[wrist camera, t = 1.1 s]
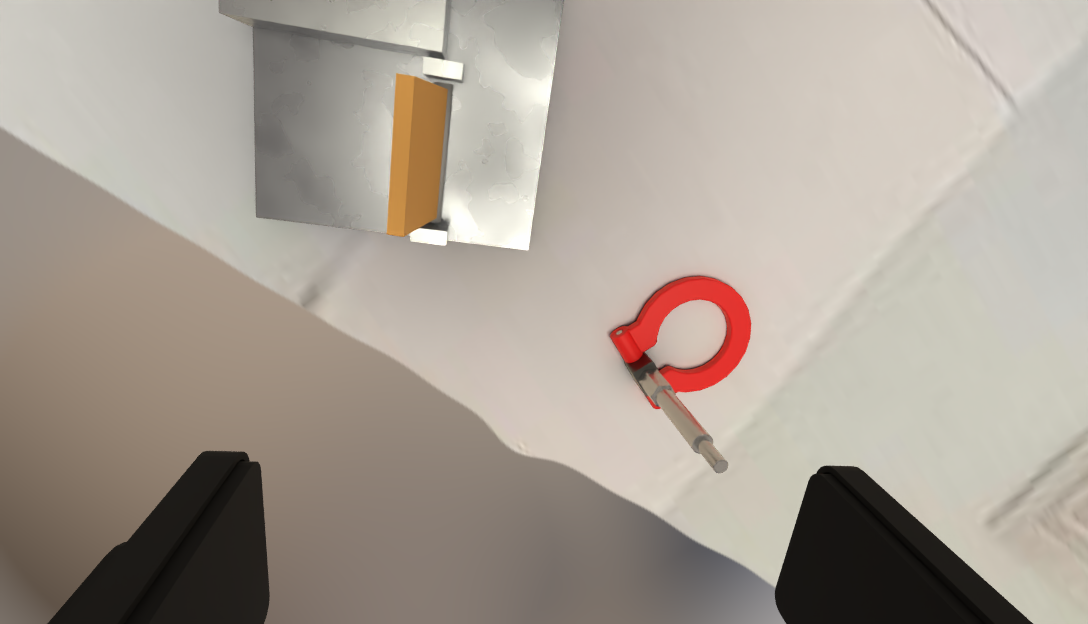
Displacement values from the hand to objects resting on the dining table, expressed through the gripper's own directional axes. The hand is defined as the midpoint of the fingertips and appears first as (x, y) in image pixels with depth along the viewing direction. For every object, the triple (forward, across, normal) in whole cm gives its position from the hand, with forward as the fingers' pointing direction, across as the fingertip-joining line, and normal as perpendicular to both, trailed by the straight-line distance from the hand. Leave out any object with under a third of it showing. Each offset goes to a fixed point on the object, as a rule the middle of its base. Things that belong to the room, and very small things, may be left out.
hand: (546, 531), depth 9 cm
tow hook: (+27, -14, +6) cm, 31 cm away
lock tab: (+25, +4, -4) cm, 26 cm away
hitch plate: (+27, +5, -10) cm, 29 cm away
